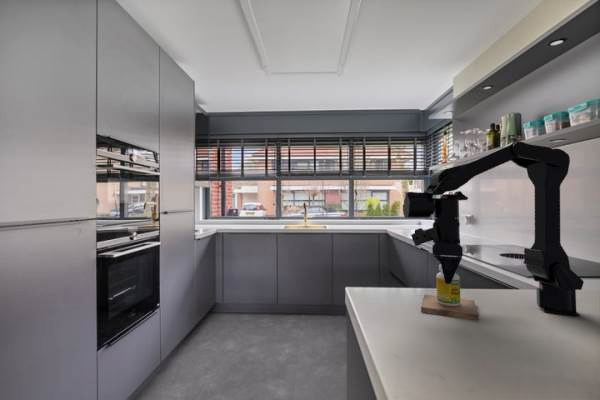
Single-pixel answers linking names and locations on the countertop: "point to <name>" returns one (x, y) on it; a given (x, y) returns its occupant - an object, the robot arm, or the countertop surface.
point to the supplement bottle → (448, 290)
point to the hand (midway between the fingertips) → (447, 279)
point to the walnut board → (450, 308)
